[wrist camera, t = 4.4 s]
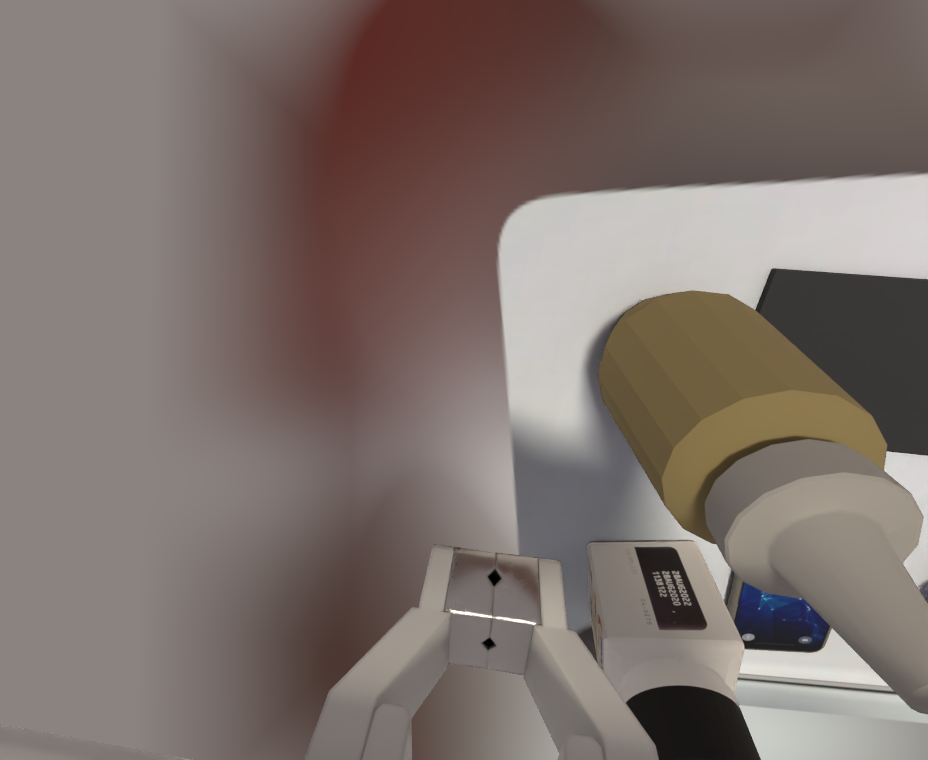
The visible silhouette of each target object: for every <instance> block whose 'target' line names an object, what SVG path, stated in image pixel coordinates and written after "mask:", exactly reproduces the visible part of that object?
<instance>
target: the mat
mask: <svg viewBox="0 0 928 760" xmlns="http://www.w3.org/2000/svg"><path fill="white" fill-rule="evenodd" d="M756 311H757V312H758V313H759V314H760V315H762V316H763V317H764V318H765V319H766V320H767V321H768V322H769V323H770V324H771V325H773V326H774V327H775V328H776V329H777V330H778V331H779V332H780V333H781V334H783V335H784V336H785V337H786V338H787V339H788V340H789V341H790V342H791V343H792V344H794V345H795V346H796V347H797V348H798V349H799V350H800V351H801V352H802V353H803V354H805V355H806V356H807V357H808V358H809V359H810V360H811V361H812V362H813V363H815V364H816V365H817V366H818V367H819V368H820V369H821V370H822V371H823V372H824V373H826V374H827V375H828V376H829V377H830V378H831V379H832V380H833V381H834V382H835V383H837V384H838V385H839V386H840V387H841V388H842V389H843V390H844V391H845V392H847V393H848V394H849V395H850V396H851V397H852V398H853V399H854V400H855V401H856V402H858V403H859V404H860V405H861V406H862V407H863V408H864V409H865V410H866V411H867V412H869V413H870V414H871V415H872V417H873V419H874V420H875V422H876V424H877V426H878V428H879V430H880V432H881V434H882V436H883V438H884V439H885V441H886V443H887V451H889V452H899V453H908V454H918V455H928V280H927V279H913V278H899V277H885V276H871V275H857V274H843V273H829V272H815V271H801V270H787V269H772V271H771V274H770V276H769V279H768V281H767V284H766V286H765V289H764V292H763V294H762V297H761V299H760V302H759V304H758V307H757V310H756Z"/></svg>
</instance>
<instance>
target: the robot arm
mask: <svg viewBox="0 0 928 760" xmlns="http://www.w3.org/2000/svg"><path fill="white" fill-rule="evenodd" d="M448 664H455V665H463V666H471V667H480V668H487V669H492V670H498V671H503V672H509V673H514V674H519V675H524V679H525V681H526V684H527V686H528V688H529V690H530V692H531V694H532V696H533V698H534V701H535V703H536V705H537V707H538V709H539V711H540V713H541V715H542V718H543V720H544V722H545V724H546V726H547V728H548V730H549V733H550V734H551V737H552V739H553V741H554V743H555V745H556V747H557V749H558V752H559V757H558V760H659V758H658V754H657V749H656V745H655V744H654V743H653V741H652V740H651V738H650V737H649V735H648V734H647V733H646V731H645V730H644V728H643V727H642V725H641V724H640V723H639V721H638V720H637V718H636V717H635V716H634V714H633V713H632V711H631V710H630V708H629V707H628V706H627V704H626V703H625V701H624V700H623V698H622V697H621V696H620V694H619V693H618V691H617V690H616V688H615V687H614V686H613V684H612V683H611V681H610V680H609V678H608V677H607V676H606V674H605V673H604V671H603V670H602V668H601V667H600V666H599V664H598V663H597V661H596V660H595V659H594V657H593V656H592V654H591V653H590V651H589V650H588V649H587V647H586V646H585V644H584V643H583V641H582V640H581V639H580V637H579V636H578V634H577V633H576V631H575V630H569V629H568V625H567V615H566V606H565V597H564V588H563V579H562V570H561V564H560V562H559V561H557V560H549V559H542V558H536V557H529V556H520V555H512V554H503V553H490V552H483V551H477V550H471V549H464V548H458V547H451V546H444V545H436V544H435V545H434V547H433V549H432V551H431V556H430V560H429V564H428V569H427V573H426V578H425V582H424V587H423V591H422V595H421V599H420V604H419V608H416V607H412V608H411V609H410V610H409V611H408V612H407V613H406V614H405V615H404V616H403V617H402V618H401V619H400V620H399V621H398V622H397V623H396V624H395V625H394V626H393V627H392V628H391V629H390V630H389V631H388V632H387V633H386V634H385V635H384V636H383V637H382V638H381V639H380V640H379V641H378V642H377V643H376V644H375V645H374V646H373V647H372V648H371V649H370V650H369V651H368V652H367V653H366V654H365V655H364V656H363V657H362V658H361V659H360V660H359V661H358V662H357V663H356V664H355V665H354V666H353V667H352V669H351V670H350V671H349V672H348V673H347V674H346V675H345V676H344V677H343V678H342V679H341V680H340V681H339V682H338V683H337V684H336V685H335V686H334V687H333V688H332V689H331V690H330V691H329V693H328V696H327V699H326V701H325V704H324V707H323V709H322V712H321V715H320V718H319V720H318V723H317V726H316V728H315V731H314V734H313V737H312V739H311V742H310V745H309V748H308V750H307V753H306V756H305V758H304V760H412V735H411V734H412V733H411V718H412V717H413V715H414V714H415V712H416V711H417V710H418V708H419V707H420V705H421V704H422V703H423V701H424V700H425V698H426V697H427V695H428V694H429V693H430V691H431V690H432V688H433V687H434V686H435V684H436V682H437V681H438V680H439V678H440V677H441V676H442V674H443V673H444V671H445V670H446V669H447V667H448ZM0 760H191V759H186V758H181V757H175V756H170V755H164V754H159V753H153V752H148V751H142V750H137V749H132V748H126V747H121V746H115V745H110V744H104V743H98V742H93V741H88V740H82V739H77V738H71V737H66V736H60V735H55V734H50V733H44V732H39V731H33V730H27V729H22V728H17V727H12V726H6V725H1V724H0Z"/></svg>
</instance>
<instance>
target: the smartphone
mask: <svg viewBox="0 0 928 760" xmlns="http://www.w3.org/2000/svg"><path fill="white" fill-rule="evenodd" d="M727 609H728V611H729V613H730V615H731V618H732V620H733V622H734V624H735V626H736V628H737V630H738V632H739V635H740V637H741V639H742V641H743V643H744V648H745V649H751V650H769V651H787V652H805V653H812V652H817V651H819V650H821V649H822V648H823V647H824V646H825V644H826V641H827V639H828V636H829V634H830V631H831V629H832V627H831V626H830V625H829V624H828V623H827V622H826V621H825V620H824V619H823V618H822V617H821V616H820V615H819V614H818V613H817V612H816V611H815V610H814V609H813V608H812V607H811V606H810V605H809V604H808V603H807V602H806V601H805V600H804V599H803V598H800V599H799V598H793V597H786V596H780V595H774V594H768V593H765V592H763V591H761V590H759V589H757V588H755V587H753V586H751V585H749V584H747V583H745V582H743V581H741V580H740V579H739V578H738V577H737V575H736V574H734V579H733V583H732V588H731V592H730V597H729V601H728V606H727Z"/></svg>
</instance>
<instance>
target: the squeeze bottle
mask: <svg viewBox="0 0 928 760" xmlns="http://www.w3.org/2000/svg"><path fill="white" fill-rule="evenodd" d="M598 379H599V384H600V389H601V394H602V399H603V402H604V403H605V405H606V407H607V409H608V410H609V412H610V414H611V415H612V417H613V419H614V420H615V422H616V424H617V425H618V427H619V429H620V430H621V432H622V434H623V436H624V437H625V439H626V441H627V442H628V444H629V446H630V447H631V449H632V451H633V452H634V454H635V456H636V457H637V459H638V461H639V463H640V464H641V466H642V468H643V469H644V471H645V473H646V474H647V476H648V478H649V479H650V481H651V483H652V484H653V486H654V488H655V489H656V491H657V493H658V495H659V496H660V498H661V500H662V501H663V503H664V505H665V506H666V508H667V509H668V510H669V511H670V513H671V514H672V515H673V516H674V518H675V519H676V520H677V521H678V523H679V524H680V525H681V526H682V528H683V529H685V530H687V531H689V532H691V533H693V534H695V535H697V536H698V537H700V538H702V539H704V540H706V541H708V542H710V543H712V544H717V546H718V548H719V549H720V551H721V553H722V555H723V557H724V559H725V561H726V562H727V564H728V565H729V566H730V568H731V569H732V570H733V571H734V573H735V574H736V575H737V577H738V578H739V579H740V580H741V581H743V582H745V583H747V584H749V585H751V586H753V587H755V588H757V589H759V590H761V591H763V592H765V593H768V594H774V595H780V596H786V597H793V598H799V599H800V598H803V599H804V600H805V601H806V602H807V603H808V604H809V605H810V606H811V607H812V608H813V609H814V610H815V611H816V612H817V613H818V614H819V615H820V616H821V617H822V618H823V619H824V620H825V621H826V622H827V623H828V624H829V625H830V626H831V627H832V628H833V629H834V630H835V631H836V632H837V633H838V634H839V635H840V636H841V637H842V638H843V639H844V640H845V641H846V643H847V644H848V645H849V646H850V647H851V648H852V649H853V650H854V651H855V652H856V653H857V654H858V655H859V656H860V657H861V658H862V659H863V660H864V661H865V662H866V663H867V664H868V665H869V666H870V667H871V668H872V669H873V670H874V671H875V672H876V673H877V674H878V675H879V676H880V677H881V678H882V679H883V680H884V681H885V682H886V683H887V684H888V685H889V686H890V687H891V688H892V689H893V690H894V691H895V692H896V693H897V694H898V695H899V696H900V697H901V699H902V700H903V701H904V702H905V703H906V704H907V705H908V706H909V707H910V708H911V709H913V710H915V711H917V712H919V713H924V714H928V603H927V602H926V600H925V599H924V597H923V595H922V594H921V592H920V591H919V589H918V587H917V586H916V584H915V583H914V581H913V579H912V578H911V576H910V575H909V573H908V571H907V570H906V568H905V567H904V565H903V562H904V561H905V560H906V558H907V557H908V556H909V555H910V554H911V552H912V551H913V550H914V549H915V548H916V547H917V545H918V542H919V537H920V532H921V527H922V522H923V515H922V513H921V511H920V509H919V507H918V505H917V503H916V501H915V500H914V498H913V496H912V494H911V493H910V492H909V491H908V490H906V489H905V488H904V487H903V486H901V485H900V484H899V483H898V482H897V481H895V480H894V479H893V478H892V477H891V476H889V475H888V474H887V473H886V472H885V471H884V465H885V458H886V451H887V443H886V441H885V439H884V438H883V436H882V434H881V432H880V430H879V428H878V426H877V424H876V422H875V420H874V419H873V417H872V415H871V414H870V413H869V412H867V411H866V410H865V409H864V408H863V407H862V406H861V405H860V404H859V403H858V402H856V401H855V400H854V399H853V398H852V397H851V396H850V395H849V394H848V393H847V392H845V391H844V390H843V389H842V388H841V387H840V386H839V385H838V384H837V383H835V382H834V381H833V380H832V379H831V378H830V377H829V376H828V375H827V374H826V373H824V372H823V371H822V370H821V369H820V368H819V367H818V366H817V365H816V364H815V363H813V362H812V361H811V360H810V359H809V358H808V357H807V356H806V355H805V354H803V353H802V352H801V351H800V350H799V349H798V348H797V347H796V346H795V345H794V344H792V343H791V342H790V341H789V340H788V339H787V338H786V337H785V336H784V335H783V334H781V333H780V332H779V331H778V330H777V329H776V328H775V327H774V326H773V325H771V324H770V323H769V322H768V321H767V320H766V319H765V318H764V317H763V316H762V315H760V314H759V313H758V312H757V311H756V310H754V309H752V308H751V307H749V306H747V305H746V304H744V303H742V302H740V301H739V300H737V299H735V298H734V297H732V296H730V295H728V294H719V293H710V292H702V291H686V292H679V293H672V294H665V295H661V296H657V297H653V298H649V299H645V300H643V301H642V302H640V303H639V304H637V305H636V306H634V307H633V308H631V309H630V310H628V311H626V312H625V313H624V315H623V316H622V317H621V319H620V320H619V321H618V323H617V324H616V325H615V327H614V328H613V329H612V332H611V334H610V336H609V338H608V341H607V343H606V345H605V349H604V352H603V356H602V360H601V364H600V367H599V371H598Z"/></svg>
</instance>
